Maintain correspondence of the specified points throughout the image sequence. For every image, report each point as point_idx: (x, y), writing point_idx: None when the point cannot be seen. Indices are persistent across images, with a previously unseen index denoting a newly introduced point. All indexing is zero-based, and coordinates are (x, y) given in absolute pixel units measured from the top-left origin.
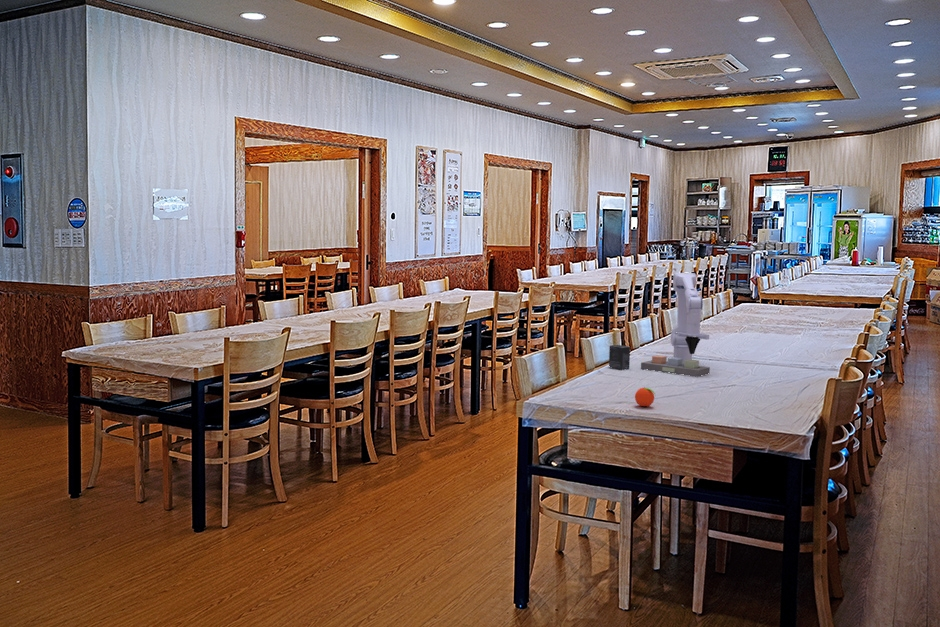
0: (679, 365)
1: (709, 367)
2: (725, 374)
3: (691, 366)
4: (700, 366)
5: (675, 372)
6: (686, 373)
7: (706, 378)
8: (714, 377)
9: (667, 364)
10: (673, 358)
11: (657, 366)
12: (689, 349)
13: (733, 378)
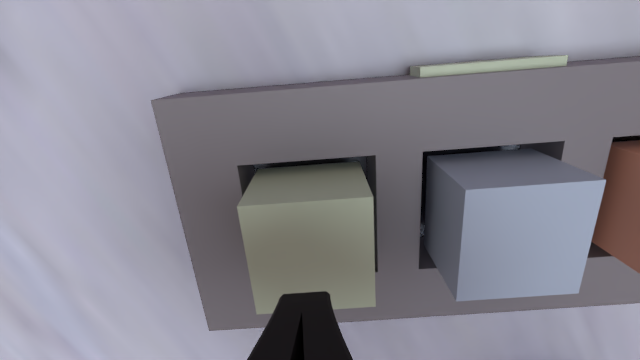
0: (434, 206)
1: (208, 325)
2: (150, 347)
3: (278, 180)
4: None
5: (401, 76)
6: (286, 85)
7: (97, 99)
8: (101, 195)
9: None
10: (542, 222)
11: (630, 61)
12: (330, 338)
13: (6, 264)
